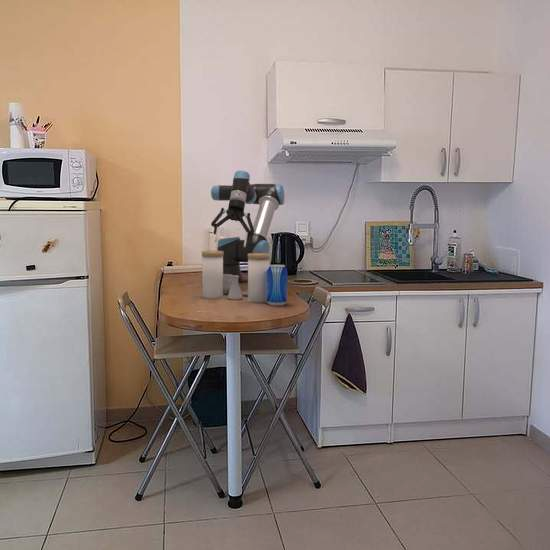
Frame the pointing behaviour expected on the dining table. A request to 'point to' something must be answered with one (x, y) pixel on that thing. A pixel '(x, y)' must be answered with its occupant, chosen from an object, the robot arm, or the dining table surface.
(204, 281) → the canister left
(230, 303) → the dining table surface
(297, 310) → the dining table surface
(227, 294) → the kettle cord
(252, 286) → the canister right
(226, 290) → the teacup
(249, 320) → the dining table surface
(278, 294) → the beer can
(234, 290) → the flask
